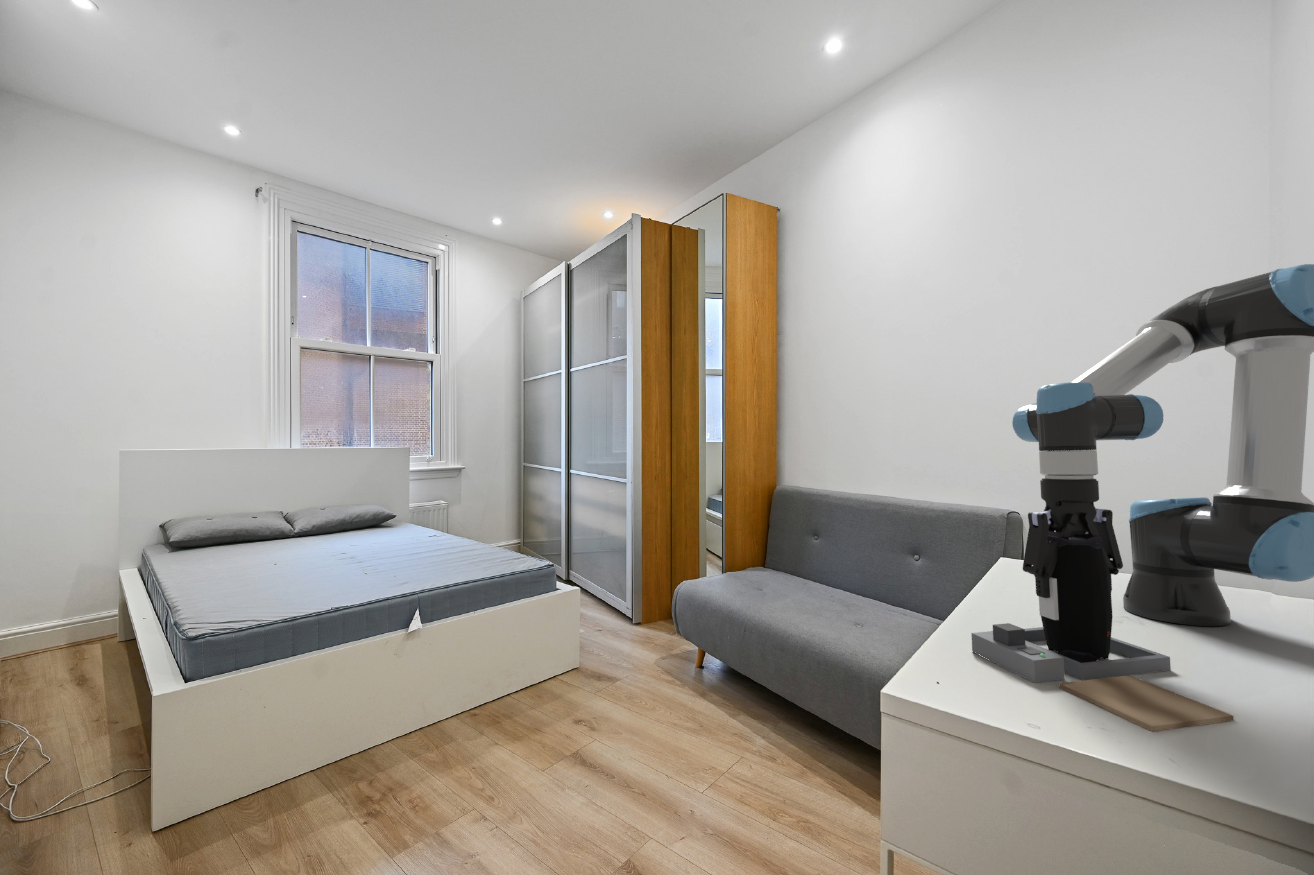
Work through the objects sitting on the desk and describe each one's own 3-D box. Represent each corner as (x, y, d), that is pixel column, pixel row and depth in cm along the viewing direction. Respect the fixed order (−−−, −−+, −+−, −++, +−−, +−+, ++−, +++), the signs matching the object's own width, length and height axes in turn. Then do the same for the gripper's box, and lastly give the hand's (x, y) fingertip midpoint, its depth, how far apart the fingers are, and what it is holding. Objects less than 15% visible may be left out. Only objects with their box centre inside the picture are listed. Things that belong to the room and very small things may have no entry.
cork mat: (1130, 679, 76) (1130, 675, 76) (1233, 720, 64) (1233, 715, 64) (1059, 687, 74) (1059, 683, 74) (1152, 731, 62) (1151, 726, 62)
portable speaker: (1129, 664, 81) (1122, 537, 82) (1073, 668, 81) (1066, 540, 81) (1080, 643, 90) (1074, 529, 90) (1029, 647, 89) (1023, 532, 90)
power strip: (998, 649, 88) (997, 616, 89) (1064, 679, 77) (1062, 640, 77) (972, 652, 88) (970, 618, 88) (1034, 682, 76) (1032, 643, 76)
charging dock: (1073, 635, 94) (1072, 624, 94) (1170, 670, 79) (1169, 657, 79) (981, 644, 91) (981, 632, 91) (1064, 682, 76) (1063, 668, 76)
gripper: (1102, 474, 91) (1108, 603, 91) (991, 478, 88) (997, 613, 87) (1148, 475, 84) (1156, 617, 83) (1030, 480, 81) (1037, 627, 80)
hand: (1075, 615), depth 85 cm, fingers closed on portable speaker, 9 cm apart
